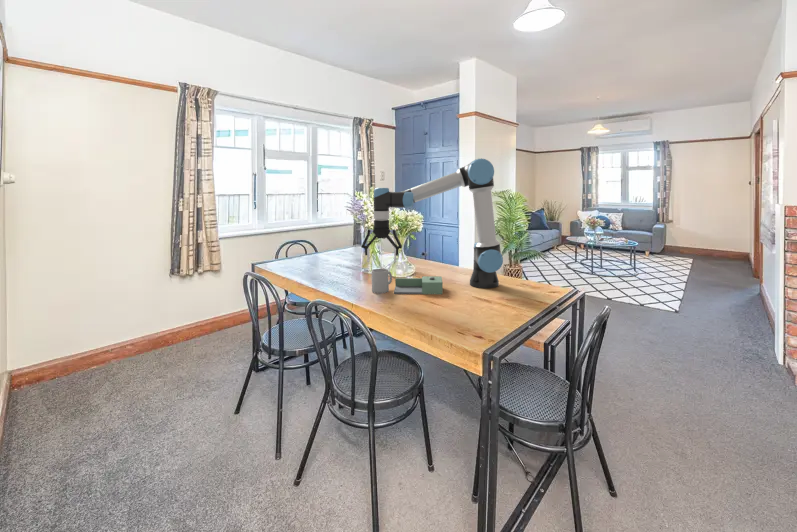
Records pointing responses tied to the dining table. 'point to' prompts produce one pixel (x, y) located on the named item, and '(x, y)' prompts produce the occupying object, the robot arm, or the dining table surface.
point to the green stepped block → (419, 285)
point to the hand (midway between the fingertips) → (381, 261)
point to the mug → (380, 280)
